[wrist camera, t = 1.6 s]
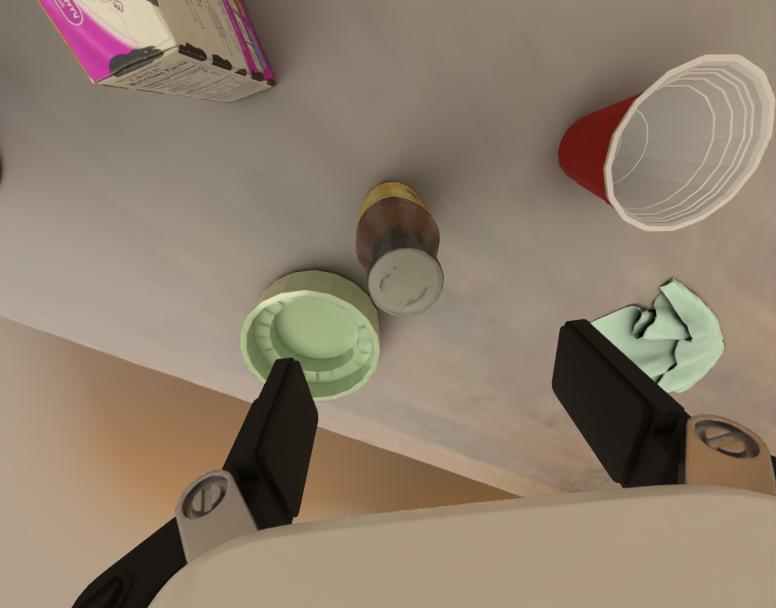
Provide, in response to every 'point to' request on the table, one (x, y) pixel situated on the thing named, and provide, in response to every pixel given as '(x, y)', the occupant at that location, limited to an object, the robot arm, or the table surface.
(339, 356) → the bowl
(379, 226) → the sauce bottle
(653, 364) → the cloth
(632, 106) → the plastic cup
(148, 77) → the candy bar box
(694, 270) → the table surface
